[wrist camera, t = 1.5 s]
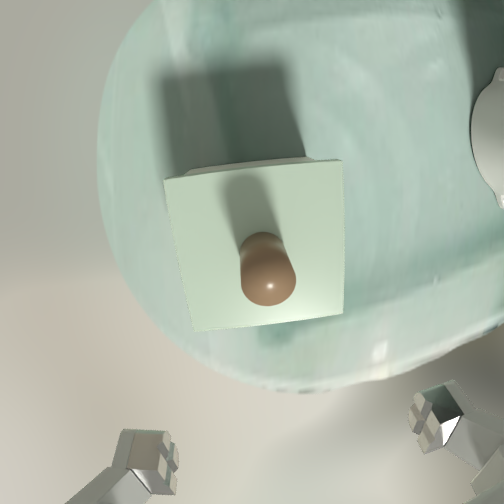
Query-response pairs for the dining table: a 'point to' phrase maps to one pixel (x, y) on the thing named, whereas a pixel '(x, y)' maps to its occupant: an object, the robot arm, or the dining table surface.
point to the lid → (260, 242)
